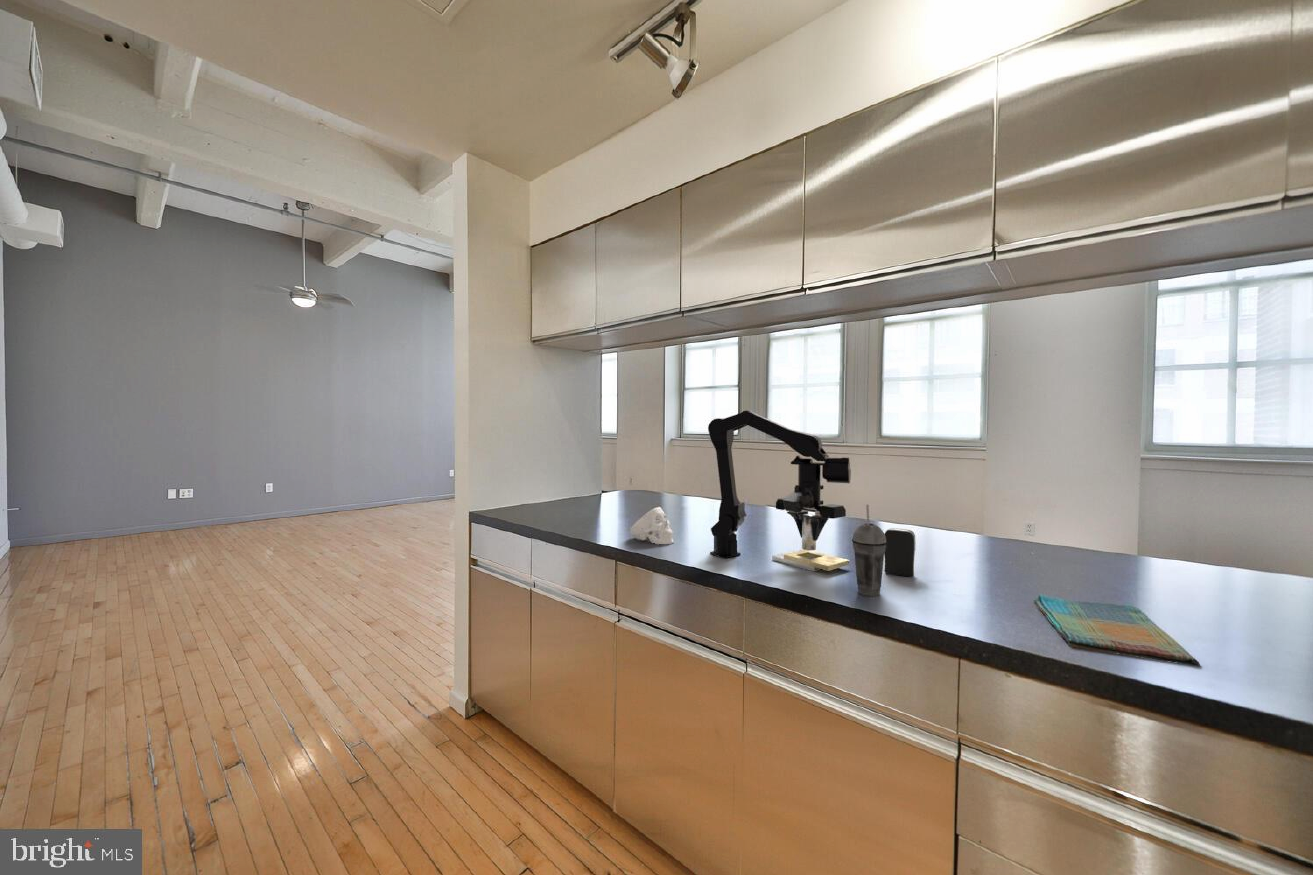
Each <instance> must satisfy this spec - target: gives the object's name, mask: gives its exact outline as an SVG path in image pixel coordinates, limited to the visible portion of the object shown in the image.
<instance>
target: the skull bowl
mask: <svg viewBox="0 0 1313 875" xmlns="http://www.w3.org/2000/svg"><path fill="white" fill-rule="evenodd" d="M629 531H630V532H629V533H630V534H631V535H632V536H633V537H634V538H635V539H636V540H638V541H647V540H649V541H650V542H651V544H653V543H655V544H654V545H659V544H669V545H671V544H674V543H675V541H674V539H673V535H674V532H673V530H672V529H671V523H670V521H669V520H668V518H667V515H666V513H665V512H664V510H663V509H662V508H661V507H660V506H658V507H655V508H653V509H650V510H649V511H648V512H646V513H645V514H644V515H643V516H642V517H640V518H639V519H638V520H637V521H636V522H635V523H633V525H632V526H631V527H630V529H629ZM673 542H674V543H673Z"/></svg>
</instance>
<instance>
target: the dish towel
mask: <svg viewBox="0 0 1313 875" xmlns="http://www.w3.org/2000/svg"><path fill="white" fill-rule="evenodd" d="M1033 603H1034V605H1035V606H1036V607H1037V609H1039V610H1040V612H1042V613H1043V614H1044V615H1045V618H1046V619H1047V620H1048V621H1049V622H1050V624H1051V625H1053V626H1054V629H1056V631H1057V632H1058V634H1059V635H1060V636H1061V637H1062V639H1063V640H1064V639H1065V640H1064V641H1065V642H1066V643H1067V646H1068V647H1070V646H1072V647H1071V648H1075V647H1077V649H1083V650H1088V649H1089V650H1090V651H1095V652H1102V653H1110V654H1115V653H1119V654H1118V655H1121V654H1125V655H1124V656H1128V655H1131V656H1130V657H1134V656H1138V657H1137V658H1141V657H1143V658H1142V659H1147V658H1148V660H1154V659H1155V661H1162V662H1167V661H1171V662H1170V663H1174V662H1177V663H1176V664H1181V663H1182V664H1183V665H1189V666H1195V667H1201V664H1200V661H1198V660H1197V659H1196V658H1195V657H1194V656H1193V655H1191V654H1190V653H1189V652H1188V651H1187V649H1185V648H1184V647H1183V646H1182V645H1180V644H1179V642H1178V641H1176V640H1175V639H1174V638H1173V637H1171V636H1170V635H1169V634H1168V633H1167V632H1166V631H1165V630H1163V629H1162V628H1160V627H1159V625H1157V624H1156V623H1155V622H1154V621H1152V620H1151V619H1150V618H1149V616H1148V615H1147V614H1146V613H1145V612H1143V611H1142V610H1141V609H1140V608H1139V607H1136V606H1133V605H1131V604H1118V603H1117V604H1115V603H1099V602H1088V601H1076V600H1075V601H1074V600H1066V599H1062V598H1057V597H1052V596H1048V595H1044V594H1039V595H1037V594H1036V595H1034V599H1033Z"/></svg>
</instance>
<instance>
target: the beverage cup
mask: <svg viewBox="0 0 1313 875" xmlns="http://www.w3.org/2000/svg"><path fill="white" fill-rule="evenodd" d="M865 506H866V523H862V524H861V525H860V524H859V526H858V527H857V528H856V529H855V530H854V532H853V534H852V539H851V542H852V548H853V551H854V561H855V562H854V564H855V573H856V574H855V575H856V585H857V592H858V594H861V595H863V596H868V597H877V596H879V595H880V594H881V588H882V578H883V571H884V570H883V569H884V562H885V557H884V553H885V550H886V544H887V542H886V536H885V532H884V531H883V529H882V528H881V527H879V526H878V525H876V524H874V523H870V509H869V507H870V505H869V504H866V505H865Z"/></svg>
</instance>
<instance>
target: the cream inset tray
mask: <svg viewBox="0 0 1313 875" xmlns="http://www.w3.org/2000/svg"><path fill="white" fill-rule="evenodd" d="M771 560H772V561H775V562H779V563H781V562H783V563H782V564H785V563H786V564H785V565H788V564H789V566H791V567H796V568H798V569H799V568H800V569H802V570H803V569H804V570H806V569H808V570H807V571H810V570H811V571H810V572H813V571H814V572H813V573H815V571H816V572H819V571H821V570H820V569H823V571H827V572H828V571H833V570H836V569H839V568H842V567H846V566H849V565H850V560H849V559H846V558H842V557H837V556H834V555H830V554H825V553H821V552H817V551H814V550H804V549H800V550H791V551H786V552H782V553H777V554H774V555H772V557H771ZM818 570H819V571H818Z"/></svg>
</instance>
